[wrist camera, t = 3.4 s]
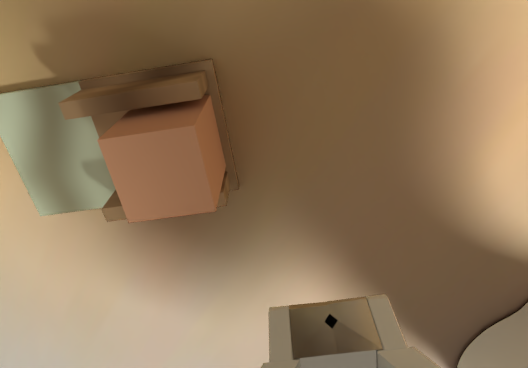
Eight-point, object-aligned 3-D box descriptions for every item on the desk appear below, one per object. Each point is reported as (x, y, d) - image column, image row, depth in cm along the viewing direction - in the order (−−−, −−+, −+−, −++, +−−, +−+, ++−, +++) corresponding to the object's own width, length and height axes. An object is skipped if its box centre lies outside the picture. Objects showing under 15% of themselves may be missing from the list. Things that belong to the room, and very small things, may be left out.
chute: (212, 58, 24) (204, 70, 21) (239, 186, 28) (235, 211, 25) (-14, 95, 25) (-54, 111, 22) (43, 212, 29) (17, 240, 26)
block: (210, 94, 24) (194, 125, 19) (226, 165, 26) (215, 211, 21) (133, 106, 25) (97, 140, 19) (155, 175, 27) (128, 222, 22)
